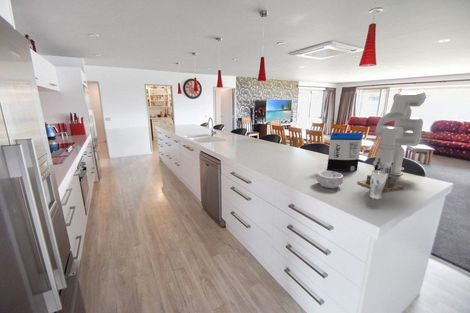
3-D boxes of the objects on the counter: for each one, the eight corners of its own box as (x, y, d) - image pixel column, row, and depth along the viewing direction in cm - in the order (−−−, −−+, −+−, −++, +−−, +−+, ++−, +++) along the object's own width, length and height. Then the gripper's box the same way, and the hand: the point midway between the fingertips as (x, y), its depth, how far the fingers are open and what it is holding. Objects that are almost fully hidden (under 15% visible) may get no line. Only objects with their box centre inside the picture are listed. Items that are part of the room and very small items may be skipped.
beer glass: (364, 195, 121) (368, 170, 118) (376, 194, 122) (380, 170, 118) (373, 200, 114) (378, 174, 111) (385, 200, 115) (390, 173, 111)
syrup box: (382, 185, 132) (385, 163, 128) (372, 182, 137) (376, 161, 134) (387, 184, 134) (391, 162, 131) (378, 181, 139) (381, 160, 136)
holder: (378, 180, 146) (380, 172, 145) (403, 188, 132) (405, 179, 130) (357, 183, 140) (358, 174, 138) (380, 192, 125) (382, 183, 123)
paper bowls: (311, 183, 139) (312, 172, 137) (328, 180, 145) (329, 169, 143) (329, 191, 126) (330, 179, 124) (347, 188, 131) (349, 176, 130)
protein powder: (360, 172, 165) (366, 133, 158) (329, 171, 165) (333, 133, 158) (353, 168, 174) (359, 132, 167) (324, 168, 174) (328, 132, 167)
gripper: (390, 145, 136) (385, 170, 140) (370, 146, 130) (366, 173, 134) (402, 147, 129) (397, 174, 133) (382, 149, 123) (377, 176, 127)
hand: (381, 173), depth 134 cm, fingers open, 9 cm apart
